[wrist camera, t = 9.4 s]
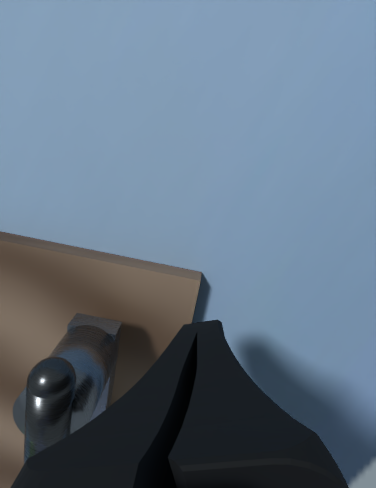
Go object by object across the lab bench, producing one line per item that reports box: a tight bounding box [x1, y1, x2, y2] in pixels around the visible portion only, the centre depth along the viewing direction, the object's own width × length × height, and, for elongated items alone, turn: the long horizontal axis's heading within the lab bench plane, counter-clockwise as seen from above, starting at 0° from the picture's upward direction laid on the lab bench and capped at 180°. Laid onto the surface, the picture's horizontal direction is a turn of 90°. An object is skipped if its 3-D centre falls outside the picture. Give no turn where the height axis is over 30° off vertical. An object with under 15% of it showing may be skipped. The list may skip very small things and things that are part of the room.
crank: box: [13, 313, 122, 464], centre depth 15 cm, size 16×4×6 cm, turn 170°
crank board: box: [0, 232, 202, 488], centre depth 19 cm, size 18×16×1 cm
